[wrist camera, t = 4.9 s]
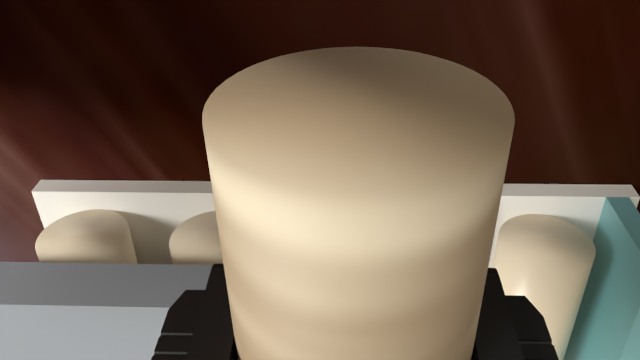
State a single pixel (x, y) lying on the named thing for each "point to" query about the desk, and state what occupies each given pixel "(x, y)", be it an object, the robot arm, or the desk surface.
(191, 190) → the roller bed
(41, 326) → the slab
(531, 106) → the desk surface
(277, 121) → the roller
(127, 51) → the desk surface
